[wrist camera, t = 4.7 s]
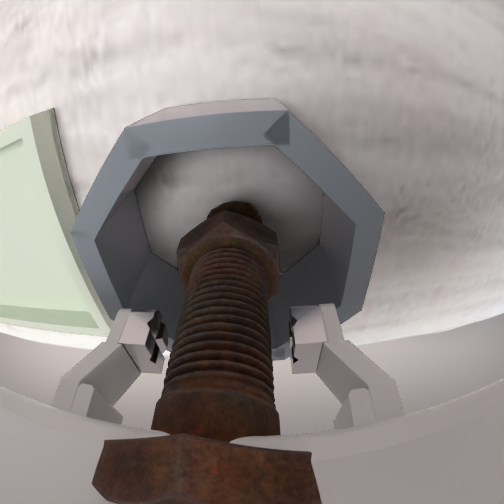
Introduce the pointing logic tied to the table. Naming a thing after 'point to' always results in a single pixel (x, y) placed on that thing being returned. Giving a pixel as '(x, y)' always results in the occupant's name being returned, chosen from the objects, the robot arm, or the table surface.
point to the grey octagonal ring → (212, 137)
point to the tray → (42, 236)
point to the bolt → (215, 383)
